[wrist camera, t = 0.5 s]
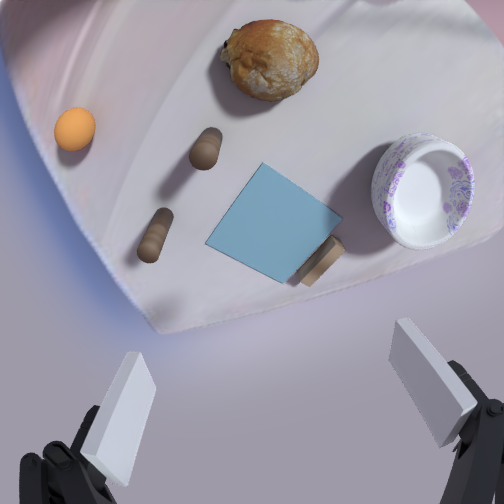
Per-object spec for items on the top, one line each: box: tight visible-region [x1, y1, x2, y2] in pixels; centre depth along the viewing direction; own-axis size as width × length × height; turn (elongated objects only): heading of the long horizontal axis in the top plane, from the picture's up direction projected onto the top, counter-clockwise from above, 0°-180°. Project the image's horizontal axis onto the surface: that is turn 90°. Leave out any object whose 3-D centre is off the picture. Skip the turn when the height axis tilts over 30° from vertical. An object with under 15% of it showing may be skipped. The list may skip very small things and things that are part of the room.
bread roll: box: [220, 19, 319, 101], centre depth 25 cm, size 10×10×8 cm
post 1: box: [137, 208, 174, 263], centre depth 34 cm, size 3×3×9 cm
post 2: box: [189, 127, 222, 170], centre depth 28 cm, size 3×3×9 cm
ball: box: [54, 108, 95, 151], centre depth 26 cm, size 6×6×6 cm
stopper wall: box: [297, 235, 345, 287], centre depth 41 cm, size 8×2×2 cm, turn 145°
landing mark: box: [205, 163, 342, 283], centre depth 39 cm, size 14×14×1 cm
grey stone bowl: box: [371, 133, 474, 250], centre depth 32 cm, size 15×15×8 cm
